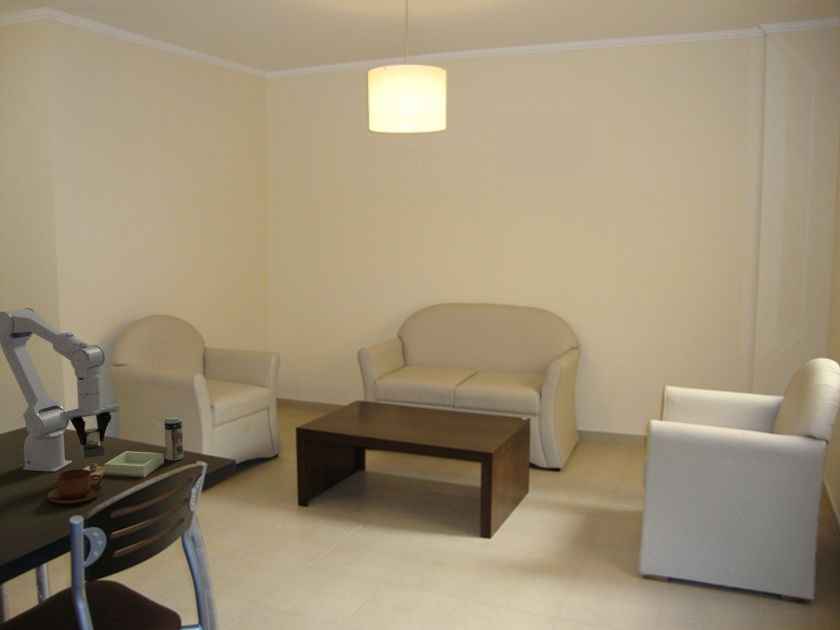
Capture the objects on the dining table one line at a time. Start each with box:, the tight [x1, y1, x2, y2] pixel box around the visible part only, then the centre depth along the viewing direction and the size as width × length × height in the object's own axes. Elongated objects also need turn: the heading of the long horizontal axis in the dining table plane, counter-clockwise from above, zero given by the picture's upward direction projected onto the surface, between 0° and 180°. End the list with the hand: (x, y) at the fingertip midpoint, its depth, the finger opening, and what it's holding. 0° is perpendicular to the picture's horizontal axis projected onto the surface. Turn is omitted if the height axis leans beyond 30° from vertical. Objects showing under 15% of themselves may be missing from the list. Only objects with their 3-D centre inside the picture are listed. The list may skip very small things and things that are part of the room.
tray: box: [103, 450, 165, 478], centre depth 204 cm, size 11×11×3 cm
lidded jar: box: [164, 415, 184, 462], centre depth 212 cm, size 5×5×12 cm
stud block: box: [82, 462, 106, 480], centre depth 200 cm, size 7×7×3 cm
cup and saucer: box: [47, 468, 103, 505], centre depth 183 cm, size 12×12×6 cm
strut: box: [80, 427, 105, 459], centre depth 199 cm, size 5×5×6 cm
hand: (91, 442), depth 199 cm, fingers closed on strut, 4 cm apart
